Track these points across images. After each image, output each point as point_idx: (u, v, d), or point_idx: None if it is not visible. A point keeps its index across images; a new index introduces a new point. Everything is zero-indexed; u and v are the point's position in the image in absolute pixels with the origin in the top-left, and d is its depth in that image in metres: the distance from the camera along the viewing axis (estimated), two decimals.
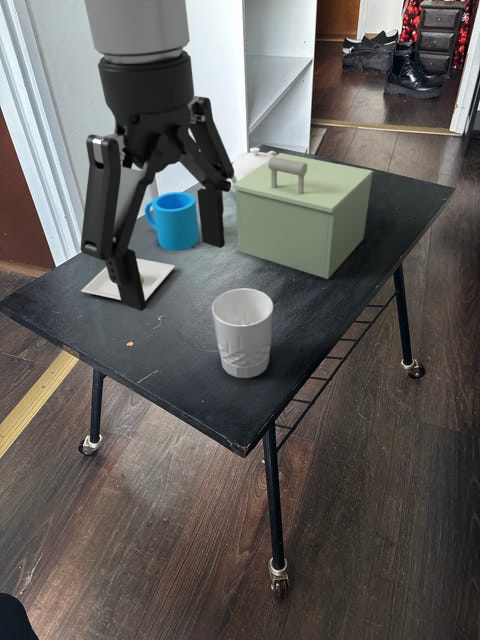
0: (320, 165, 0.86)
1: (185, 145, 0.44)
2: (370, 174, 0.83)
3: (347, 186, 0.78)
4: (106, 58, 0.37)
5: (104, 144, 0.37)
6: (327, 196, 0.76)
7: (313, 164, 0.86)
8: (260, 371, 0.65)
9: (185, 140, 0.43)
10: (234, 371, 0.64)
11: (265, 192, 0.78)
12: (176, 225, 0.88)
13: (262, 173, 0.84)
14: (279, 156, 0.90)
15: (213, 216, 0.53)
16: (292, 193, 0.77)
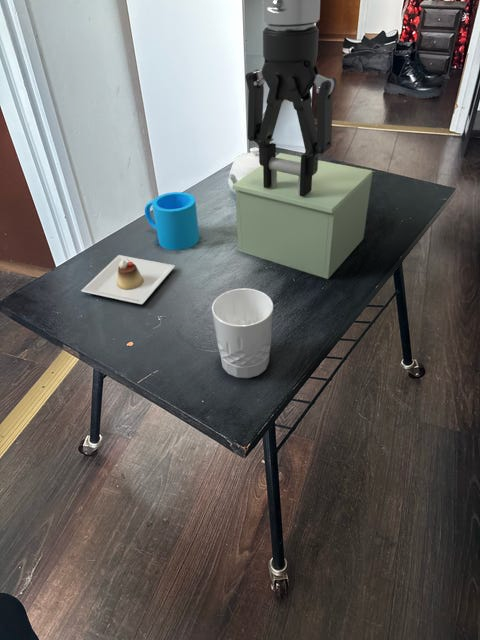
0: (320, 165, 0.86)
1: None
2: (370, 174, 0.83)
3: (347, 186, 0.78)
4: (305, 28, 0.61)
5: (335, 82, 0.65)
6: (327, 196, 0.76)
7: None
8: (260, 371, 0.65)
9: None
10: (234, 371, 0.64)
11: (265, 193, 0.78)
12: (176, 225, 0.88)
13: (262, 174, 0.84)
14: (279, 156, 0.90)
15: None
16: (292, 193, 0.77)
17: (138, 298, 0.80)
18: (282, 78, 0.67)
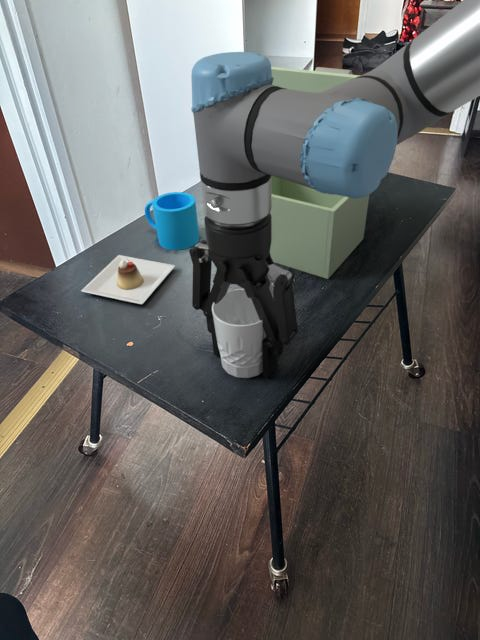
0: None
1: None
2: None
3: None
4: (252, 224, 0.50)
5: (293, 273, 0.54)
6: None
7: None
8: (260, 371, 0.65)
9: None
10: (234, 371, 0.64)
11: (305, 70, 0.76)
12: (176, 225, 0.88)
13: None
14: None
15: None
16: None
17: (138, 298, 0.80)
18: (231, 264, 0.56)
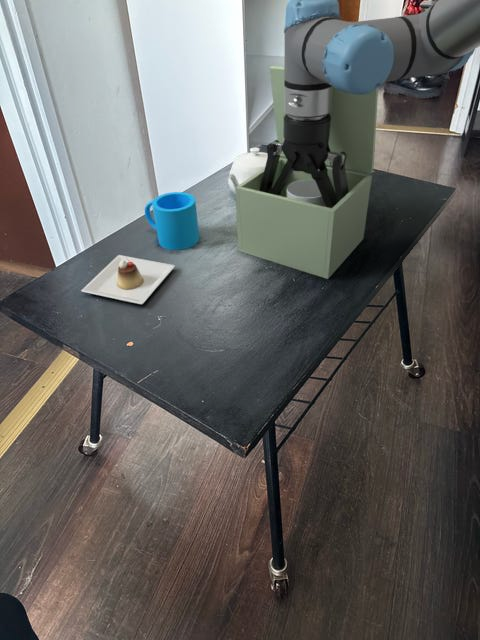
0: None
1: None
2: (372, 167, 0.82)
3: None
4: (319, 118, 0.73)
5: (345, 155, 0.77)
6: None
7: None
8: None
9: None
10: None
11: None
12: (176, 225, 0.88)
13: None
14: None
15: None
16: None
17: (138, 298, 0.80)
18: (299, 154, 0.79)
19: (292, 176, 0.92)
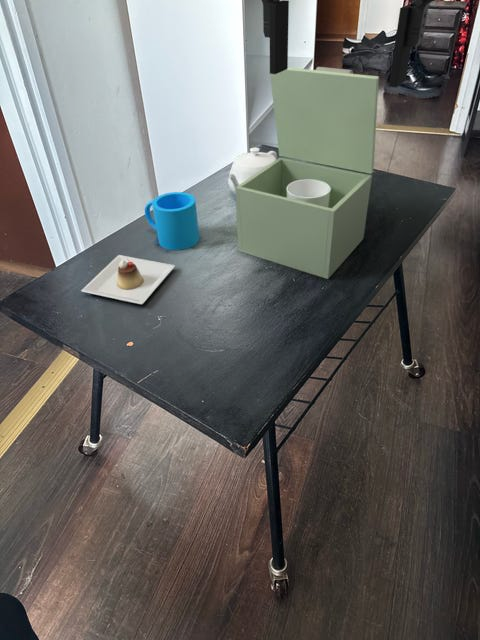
0: None
1: None
2: (372, 167, 0.82)
3: None
4: None
5: None
6: None
7: None
8: None
9: None
10: None
11: (306, 69, 0.76)
12: (176, 225, 0.88)
13: None
14: None
15: (284, 30, 0.51)
16: None
17: (138, 298, 0.80)
18: None
19: (292, 176, 0.92)
